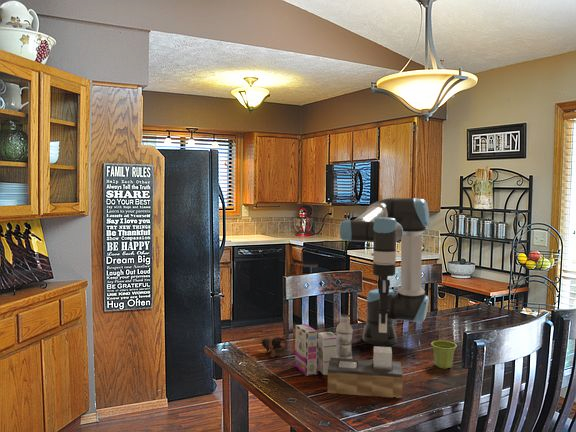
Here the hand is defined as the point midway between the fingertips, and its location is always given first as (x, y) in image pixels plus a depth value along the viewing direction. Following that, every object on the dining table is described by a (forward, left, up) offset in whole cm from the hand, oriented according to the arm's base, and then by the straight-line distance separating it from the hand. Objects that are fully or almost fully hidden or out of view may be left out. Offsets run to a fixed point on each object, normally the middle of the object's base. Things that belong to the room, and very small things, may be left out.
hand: (382, 331), depth 171 cm
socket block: (0, -6, -20) cm, 21 cm away
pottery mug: (-30, -43, -21) cm, 56 cm away
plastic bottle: (-19, -14, -20) cm, 31 cm away
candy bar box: (-13, -28, -20) cm, 37 cm away
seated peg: (0, -12, -20) cm, 23 cm away
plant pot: (-27, +24, -20) cm, 42 cm away
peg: (0, 0, -14) cm, 14 cm away
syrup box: (-13, -20, -20) cm, 31 cm away
